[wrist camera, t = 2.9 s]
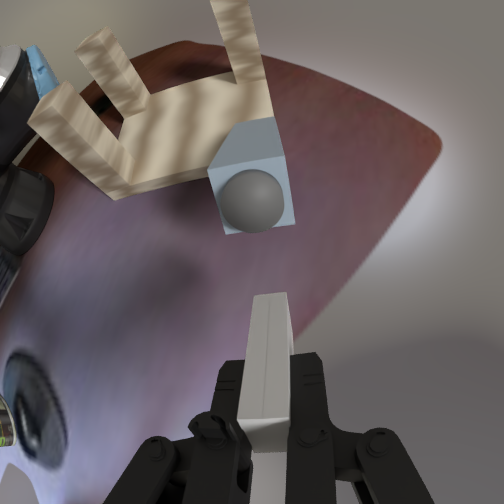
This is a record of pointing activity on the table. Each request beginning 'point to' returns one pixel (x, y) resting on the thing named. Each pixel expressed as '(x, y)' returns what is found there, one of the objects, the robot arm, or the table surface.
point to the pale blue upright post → (252, 178)
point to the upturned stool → (155, 112)
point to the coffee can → (6, 425)
